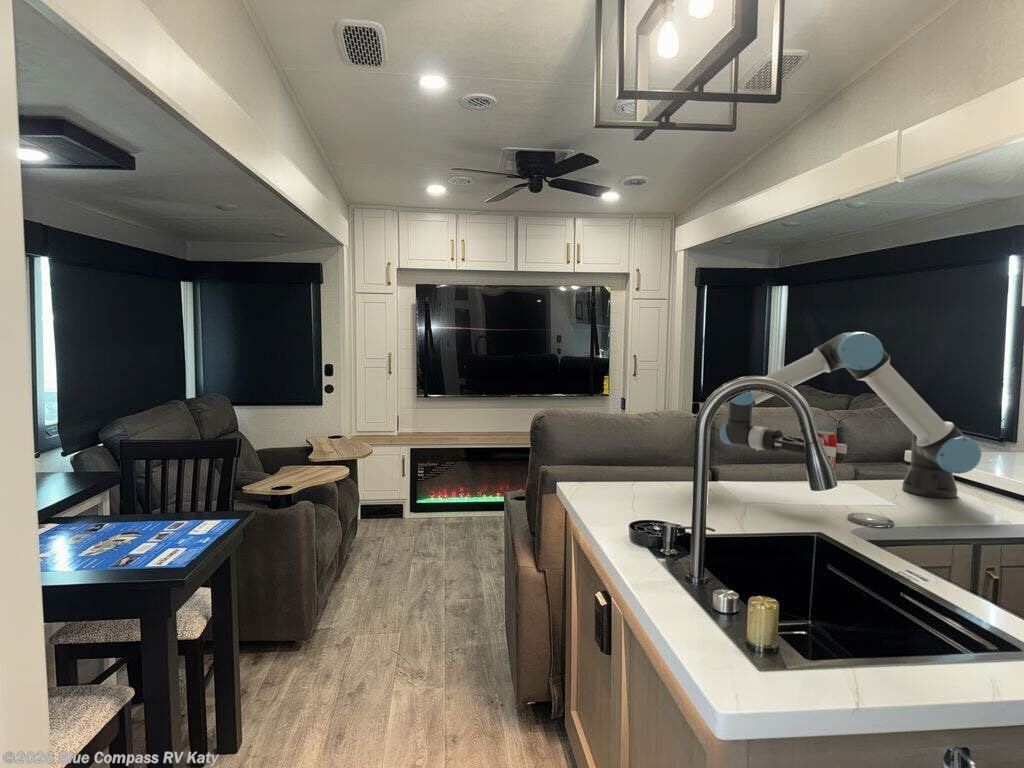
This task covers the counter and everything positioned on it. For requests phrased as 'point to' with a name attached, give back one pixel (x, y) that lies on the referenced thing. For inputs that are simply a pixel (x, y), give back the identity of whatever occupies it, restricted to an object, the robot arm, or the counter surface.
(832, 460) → the soda can
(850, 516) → the coaster
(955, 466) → the robot arm
